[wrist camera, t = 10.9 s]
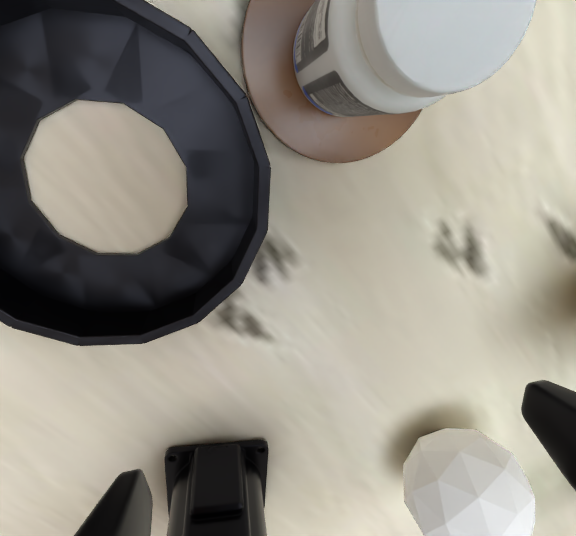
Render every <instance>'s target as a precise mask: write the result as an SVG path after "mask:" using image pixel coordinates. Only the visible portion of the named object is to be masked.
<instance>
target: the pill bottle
mask: <svg viewBox="0 0 576 536" xmlns="http://www.w3.org/2000/svg"><path fill="white" fill-rule="evenodd" d="M535 4H536V0H316V1H315V2H314V4H313V5H312V6H311V7H310V9H309V10H308V12H307V13H306V15H305V16H304V18H303V20H302V21H301V23H300V26H299V28H298V30H297V34H296V37H295V41H294V47H293V64H294V70H295V75H296V78H297V81H298V84H299V86H300V88H301V90H302V92H303V94H304V95H305V97H306V98H307V99H308V100H309V101H310V102H311V103H312V104H313V105H314V106H315V107H316V108H318V109H319V110H321V111H323V112H325V113H327V114H330V115H333V116H339V117H355V116H369V115H384V114H389V115H390V114H402V113H408V112H413V111H417V110H420V109H423V108H425V107H428V106H430V105H432V104H434V103H436V102H437V101H439V100H440V99H442V98H443V97H444V96H446V95H447V94H452V93H457V92H460V91H464V90H467V89H469V88H472V87H474V86H476V85H478V84H480V83H481V82H483V81H485V80H486V79H488V78H489V77H491V76H492V75H493V74H494V73H495V72H497V71H498V70H499V69H500V68H501V67H502V66H503V65H504V64H505V63H506V61H507V60H508V59H509V58H510V57H511V55H512V54H513V53H514V51H515V50H516V48H517V47H518V45H519V44H520V42H521V40H522V39H523V37H524V35H525V33H526V31H527V28H528V26H529V23H530V21H531V18H532V16H533V12H534V8H535Z"/></svg>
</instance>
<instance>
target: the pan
mask: <svg viewBox="0 0 576 536" xmlns="http://www.w3.org/2000/svg"><path fill="white" fill-rule="evenodd" d="M76 100H89V101H101V102H113V103H124V104H125V105H127V106H128V107H130V108H131V109H133V110H135V111H136V112H138V113H139V114H141V115H142V116H144V117H145V118H147V119H149V120H150V121H152V122H153V123H155V124H156V125H158V126H160V127H161V128H163V129H164V131H165V132H166V134H167V136H168V137H169V139H170V141H171V142H172V144H173V146H174V147H175V149H176V151H177V153H178V154H179V156H180V158H181V159H182V161H183V163H184V164H185V166H186V174H187V205H188V206H187V208H186V210H185V212H184V213H183V215H182V217H181V218H180V220H179V222H178V224H177V225H176V227H175V229H174V230H173V232H172V234H171V236H170V237H168V238H166V239H164V240H163V241H161V242H159V243H157V244H155V245H153V246H151V247H149V248H147V249H146V250H144V251H142V252H140V253H138V254H117V253H96V252H94V251H92V250H90V249H88V248H86V247H84V246H82V245H80V244H78V243H76V242H73V241H71V240H69V239H67V238H65V237H63V236H61V235H59V234H58V233H57V231H56V230H55V229H54V228H53V226H52V225H51V224H50V223H49V222H48V220H47V219H46V218H45V217H44V215H43V214H42V213H41V212H40V211H39V209H38V208H37V207H36V206H35V204H34V203H33V202H32V201H31V197H30V192H29V187H28V182H27V176H26V171H25V166H24V161H23V157H24V155H25V152H26V150H27V148H28V146H29V143H30V141H31V139H32V137H33V134H34V132H35V130H36V128H37V125H38V123H39V121H40V120H41V119H43V118H45V117H47V116H48V115H50V114H52V113H54V112H56V111H58V110H60V109H61V108H63V107H65V106H67V105H69V104H71V103H72V102H74V101H76ZM233 105H234V106H233ZM270 174H271V167H270V162H269V159H268V156H267V153H266V151H265V148H264V145H263V142H262V139H261V136H260V133H259V130H258V127H257V124H256V121H255V118H254V115H253V112H252V109H251V106H250V103H249V100H248V98H247V96H246V94H245V93H244V91H243V90H242V89H241V88H240V86H239V85H238V84H237V83H236V82H235V80H234V79H233V78H232V77H231V75H230V74H229V73H228V72H227V71H226V69H225V68H224V67H223V66H222V64H221V63H220V62H219V61H218V60H217V58H216V57H215V56H214V55H213V53H212V52H211V51H210V50H209V49H208V47H207V46H206V45H205V44H204V42H203V41H202V40H201V39H200V37H199V36H198V35H197V34H196V33H195V31H194V30H192V29H191V28H190V27H189V26H187V25H185V24H183V23H182V22H180V21H178V20H177V19H175V18H173V17H171V16H170V15H168V14H166V13H165V12H163V11H161V10H160V9H158V8H156V7H154V6H153V5H151V4H149V3H148V2H146V1H144V0H0V321H1V322H3V323H4V324H6V325H7V326H9V327H10V326H11V327H12V328H14V329H18V330H22V331H25V332H29V333H33V334H36V335H40V336H44V337H47V338H51V339H55V340H59V341H62V342H66V343H70V344H73V345H77V346H78V345H80V346H93V345H121V344H142V343H147V342H149V341H152V340H155V339H157V338H160V337H163V336H165V335H168V334H170V333H173V332H176V331H178V330H181V329H184V328H186V327H189V326H191V325H194V324H197V323H198V322H200V321H201V320H202V319H204V318H205V317H206V316H207V315H208V314H209V313H210V312H211V311H213V310H214V309H215V308H216V307H217V306H218V305H219V304H220V303H222V302H223V301H224V300H225V299H226V298H227V297H228V296H229V295H230V294H232V293H233V292H234V291H235V290H236V289H237V288H238V287H239V286H241V284H242V283H243V281H244V279H245V277H246V275H247V273H248V271H249V269H250V267H251V265H252V262H253V260H254V258H255V256H256V254H257V252H258V250H259V248H260V246H261V244H262V242H263V240H264V238H265V235H266V233H267V230H268V213H269V194H270Z"/></svg>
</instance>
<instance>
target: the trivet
mask: <svg viewBox="0 0 576 536" xmlns="http://www.w3.org/2000/svg"><path fill="white" fill-rule="evenodd" d="M315 1H316V0H250V1H249V4H248V7H247V10H246V14H245V20H244V25H243V30H242V42H241V54H242V67H243V73H244V79H245V82H246V86H247V90H248V93H249V95H250V98H251V100H252V103H253V105H254V107H255V109H256V111H257V113H258V114H259V116H260V118H261V119H262V121H263V122H264V124H265V125H266V126H267V128H268V129H269V130H270V131H271V132H272V133H273V134H274V135H275V136H276V138H277V139H279V140H280V141H281V142H282V143H284V144H285V145H286V146H287V147H289V148H291V149H292V150H294V151H295V152H297V153H299V154H301V155H304V156H306V157H308V158H311V159H315V160H318V161H323V162H330V163H346V162H353V161H358V160H361V159H365V158H368V157H370V156H372V155H375V154H377V153H379V152H381V151H382V150H384V149H385V148H387V147H389V146H390V145H391V144H393V143H394V142H395V141H396V140H398V139H399V138H400V137H401V136H402V135H403V134H404V133H405V132H406V131H407V130H408V129H409V127H410V126H411V125H412V124H413V122H414V121H415V120H416V119H417V117H418V115H419V114H420V112H421V111H422V109H420V110H417V111H413V112H408V113H402V114H390V115H389V114H384V115H369V116H355V117H339V116H333V115H330V114H327V113H325V112H323V111H321V110H319V109H318V108H316V107H315V106H314V105H313V104H312V103H311V102H310V101H309V100H308V99H307V98H306V97H305V95H304V94H303V92H302V90H301V88H300V86H299V84H298V81H297V78H296V75H295V70H294V64H293V47H294V41H295V37H296V34H297V30H298V28H299V26H300V23H301V21H302V20H303V18H304V16H305V15H306V13H307V12H308V10H309V9H310V7H311V6H312V5H313V4H314V2H315Z"/></svg>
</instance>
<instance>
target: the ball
mask: <svg viewBox="0 0 576 536" xmlns="http://www.w3.org/2000/svg"><path fill="white" fill-rule="evenodd" d="M403 476H404V502H405V504H406V506H407V507H408V509H409V511H410V512H411V514H412V516H413V517H414V519H415V521H416V523H417V524H418V526H419V528H420V529H421V531H422V533H423V535H424V536H532V533H533V529H534V524H535V496H534V493H533V491H532V488H531V486H530V483H529V481H528V479H527V477H526V475H525V474H524V472H523V470H522V469H521V467H520V465H519V464H518V462H517V460H516V458H515V457H514V455H513V453H512V452H510V451H508V450H507V449H505V448H504V447H502V446H501V445H499V444H498V443H496V442H495V441H493V440H492V439H490V438H488V437H487V436H485V435H484V434H482V433H481V432H479V431H478V430H476V429H455V428H445V429H442V430H439V431H436V432H433V433H431V434H428V435H425V436H422V437H419V439H418V440H417V442H416V444H415V446H414V447H413V449H412V451H411V452H410V454H409V456H408V458H407V459H406V461H405V463H404V464H403Z"/></svg>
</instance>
